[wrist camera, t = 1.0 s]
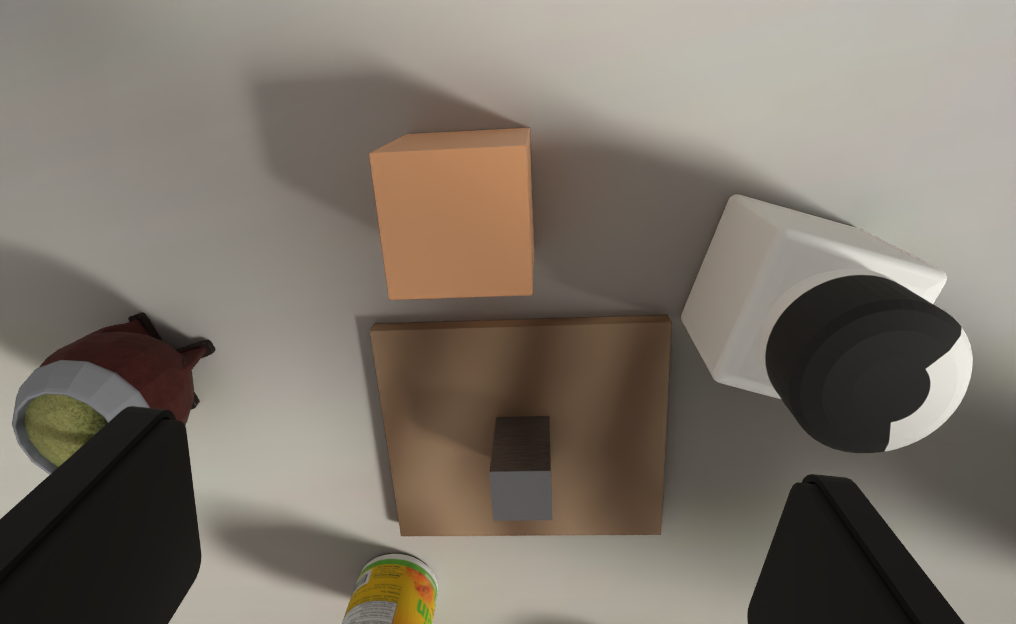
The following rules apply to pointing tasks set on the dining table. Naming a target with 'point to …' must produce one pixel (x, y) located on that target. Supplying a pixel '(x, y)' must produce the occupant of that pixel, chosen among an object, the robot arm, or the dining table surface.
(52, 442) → the mate gourd
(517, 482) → the post
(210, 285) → the dining table surface
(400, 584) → the supplement bottle
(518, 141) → the tan wooden cube
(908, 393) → the medicine bottle
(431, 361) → the base board
